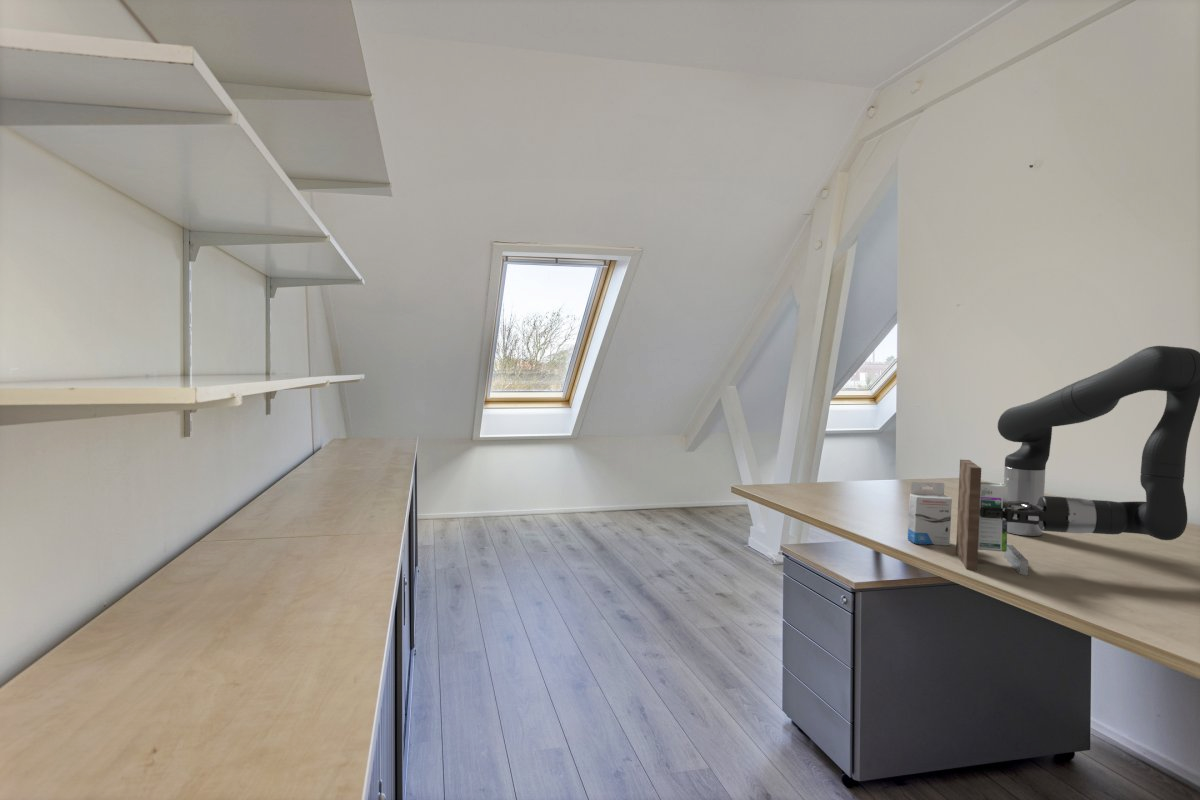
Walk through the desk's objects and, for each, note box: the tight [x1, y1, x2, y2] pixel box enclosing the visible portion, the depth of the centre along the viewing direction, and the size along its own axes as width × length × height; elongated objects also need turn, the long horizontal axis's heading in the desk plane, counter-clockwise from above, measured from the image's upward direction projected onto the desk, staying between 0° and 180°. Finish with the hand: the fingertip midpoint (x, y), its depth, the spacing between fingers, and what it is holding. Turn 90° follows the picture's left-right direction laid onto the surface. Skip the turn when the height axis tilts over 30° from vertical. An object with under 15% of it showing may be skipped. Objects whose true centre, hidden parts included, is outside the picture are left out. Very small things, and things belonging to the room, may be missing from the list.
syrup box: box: [978, 481, 1008, 553], centre depth 153 cm, size 6×6×14 cm
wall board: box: [955, 459, 1029, 576], centre depth 153 cm, size 14×12×22 cm
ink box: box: [907, 481, 953, 546], centre depth 171 cm, size 9×5×15 cm, turn 84°
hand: (978, 509), depth 154 cm, fingers closed on syrup box, 6 cm apart
